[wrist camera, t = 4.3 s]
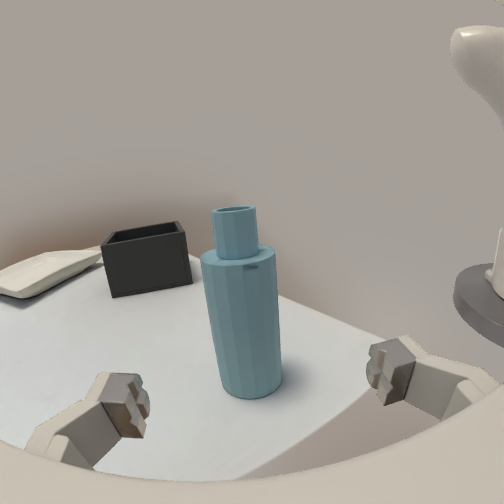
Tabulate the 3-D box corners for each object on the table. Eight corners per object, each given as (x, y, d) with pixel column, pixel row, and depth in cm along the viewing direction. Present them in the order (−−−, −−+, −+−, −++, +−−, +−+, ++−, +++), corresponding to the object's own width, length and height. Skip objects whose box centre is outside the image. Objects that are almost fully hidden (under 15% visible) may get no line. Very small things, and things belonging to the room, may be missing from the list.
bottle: (268, 355, 25) (255, 201, 21) (291, 387, 20) (284, 207, 17) (216, 369, 24) (190, 210, 20) (231, 406, 19) (201, 218, 15)
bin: (183, 261, 57) (177, 220, 55) (192, 283, 45) (184, 231, 42) (120, 273, 53) (112, 231, 51) (112, 298, 41) (100, 246, 38)
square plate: (23, 310, 36) (16, 289, 35) (-20, 296, 42) (-25, 281, 41) (108, 263, 61) (105, 247, 60) (48, 262, 68) (45, 250, 67)
